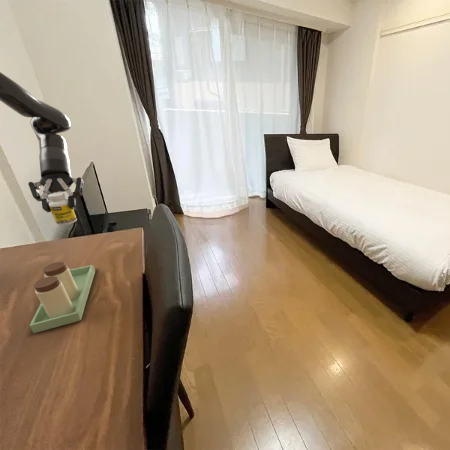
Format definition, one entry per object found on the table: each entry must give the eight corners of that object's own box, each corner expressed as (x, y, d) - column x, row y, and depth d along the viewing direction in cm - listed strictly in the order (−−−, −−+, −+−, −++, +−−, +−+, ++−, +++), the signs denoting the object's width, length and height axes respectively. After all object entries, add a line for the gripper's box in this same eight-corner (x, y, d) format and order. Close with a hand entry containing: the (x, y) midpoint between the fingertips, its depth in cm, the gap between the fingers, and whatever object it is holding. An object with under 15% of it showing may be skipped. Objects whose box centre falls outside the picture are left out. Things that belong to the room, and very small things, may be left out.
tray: (59, 279, 83) (56, 272, 82) (95, 271, 86) (92, 264, 85) (33, 333, 64) (29, 325, 63) (81, 320, 68) (77, 312, 67)
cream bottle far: (44, 321, 67) (26, 289, 63) (58, 306, 71) (42, 276, 67) (66, 319, 68) (50, 287, 63) (78, 305, 72) (64, 274, 68)
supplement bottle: (56, 227, 86) (44, 198, 82) (56, 221, 90) (44, 193, 86) (78, 222, 89) (67, 194, 85) (76, 217, 93) (66, 190, 89)
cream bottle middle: (52, 303, 73) (36, 272, 68) (64, 291, 77) (50, 261, 73) (72, 301, 73) (58, 271, 69) (83, 289, 78) (70, 260, 73)
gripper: (20, 159, 84) (23, 208, 80) (77, 155, 90) (83, 201, 86) (33, 172, 90) (37, 218, 86) (85, 167, 96) (91, 210, 92)
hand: (60, 209), depth 86 cm, fingers closed on supplement bottle, 5 cm apart
